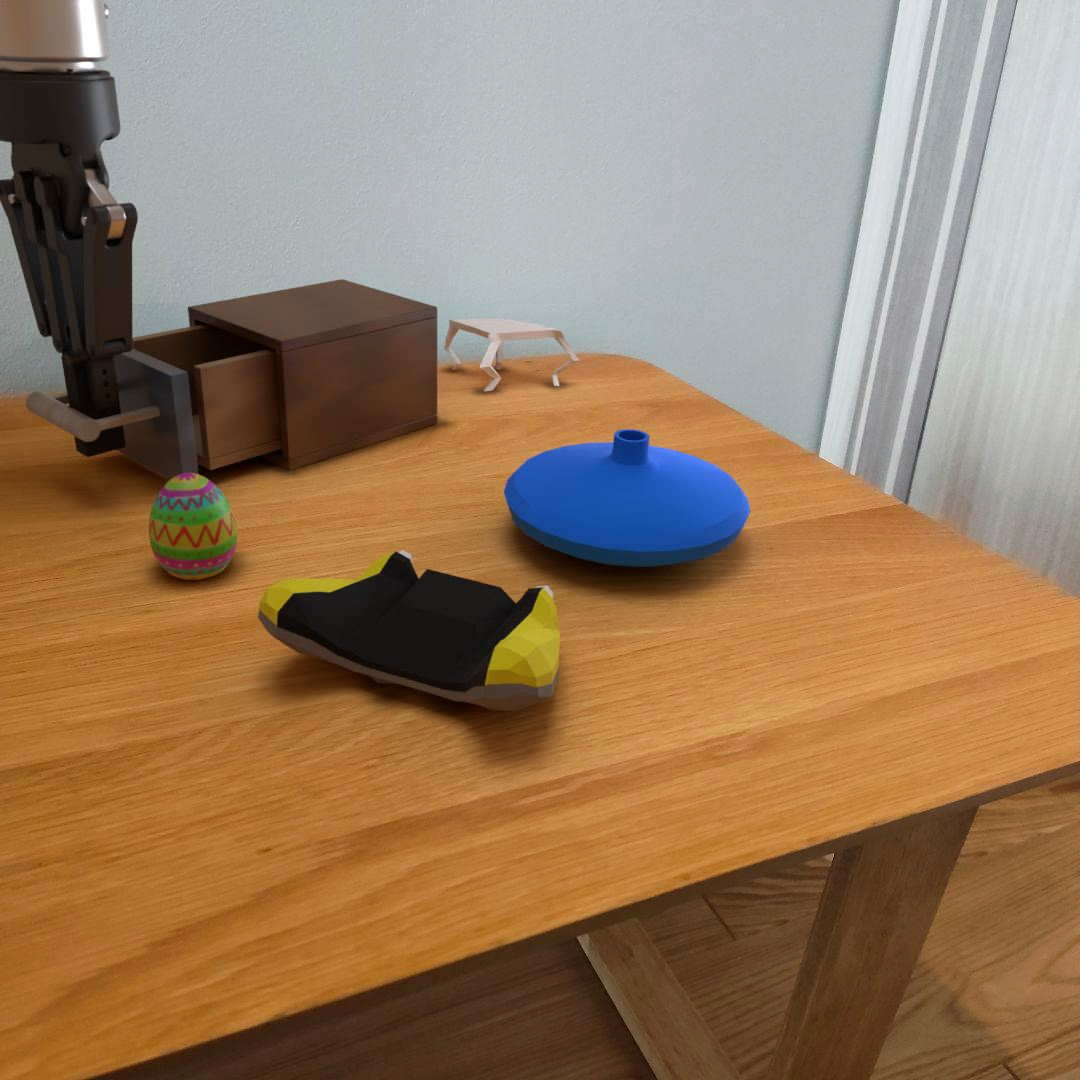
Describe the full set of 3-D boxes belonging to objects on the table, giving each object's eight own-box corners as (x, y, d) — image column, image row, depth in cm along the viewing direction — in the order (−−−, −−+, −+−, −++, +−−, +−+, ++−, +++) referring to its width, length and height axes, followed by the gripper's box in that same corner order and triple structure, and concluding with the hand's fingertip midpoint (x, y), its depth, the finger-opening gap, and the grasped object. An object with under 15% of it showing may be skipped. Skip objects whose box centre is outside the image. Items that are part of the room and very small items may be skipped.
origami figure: (445, 394, 93) (445, 339, 91) (443, 365, 100) (444, 313, 98) (580, 395, 94) (584, 341, 92) (569, 366, 102) (572, 316, 99)
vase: (473, 574, 64) (475, 465, 61) (533, 475, 78) (537, 383, 74) (737, 613, 61) (753, 502, 58) (750, 504, 75) (764, 409, 72)
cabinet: (289, 470, 76) (281, 340, 72) (199, 427, 83) (187, 306, 79) (437, 423, 86) (437, 306, 82) (346, 388, 93) (342, 278, 89)
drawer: (102, 512, 67) (84, 395, 63) (26, 465, 73) (5, 355, 69) (343, 438, 80) (339, 337, 77) (261, 403, 86) (254, 308, 83)
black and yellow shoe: (525, 775, 47) (600, 664, 56) (529, 672, 45) (608, 572, 53) (246, 689, 52) (354, 598, 61) (237, 592, 50) (351, 511, 58)
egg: (144, 587, 61) (130, 491, 58) (165, 548, 65) (153, 457, 62) (231, 587, 61) (222, 492, 58) (246, 548, 65) (238, 458, 63)
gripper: (164, 72, 59) (205, 462, 70) (51, 57, 67) (104, 411, 77) (32, 74, 54) (98, 494, 65) (-75, 57, 62) (0, 436, 72)
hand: (101, 448), depth 71 cm, fingers closed
